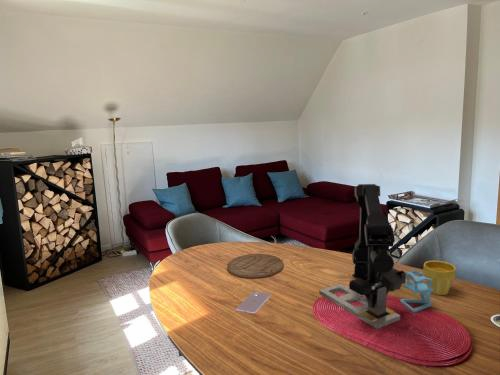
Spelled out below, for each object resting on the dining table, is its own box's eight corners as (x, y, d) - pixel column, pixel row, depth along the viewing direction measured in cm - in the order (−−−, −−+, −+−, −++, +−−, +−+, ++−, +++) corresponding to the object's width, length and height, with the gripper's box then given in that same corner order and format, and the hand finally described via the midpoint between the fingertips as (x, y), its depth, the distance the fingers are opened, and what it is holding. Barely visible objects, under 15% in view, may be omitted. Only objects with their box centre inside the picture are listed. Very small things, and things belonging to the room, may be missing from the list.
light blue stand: (436, 309, 125) (437, 275, 123) (412, 312, 124) (414, 278, 122) (421, 299, 133) (423, 266, 131) (399, 301, 132) (401, 269, 129)
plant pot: (453, 287, 140) (454, 262, 139) (455, 299, 131) (456, 273, 129) (422, 283, 145) (423, 258, 143) (422, 295, 135) (423, 269, 134)
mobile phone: (234, 308, 131) (253, 290, 145) (235, 311, 131) (253, 292, 145) (254, 312, 128) (271, 293, 141) (255, 315, 128) (271, 295, 141)
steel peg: (376, 309, 125) (376, 281, 123) (386, 315, 121) (386, 286, 120) (367, 313, 123) (367, 284, 121) (376, 318, 120) (377, 289, 118)
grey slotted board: (340, 287, 145) (340, 282, 144) (400, 319, 120) (400, 314, 120) (319, 294, 140) (319, 289, 140) (377, 329, 116) (377, 323, 115)
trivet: (293, 262, 172) (293, 258, 172) (265, 284, 151) (265, 279, 151) (246, 254, 185) (246, 250, 185) (215, 273, 165) (215, 269, 164)
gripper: (375, 275, 107) (374, 325, 110) (419, 261, 116) (417, 307, 119) (347, 263, 117) (348, 309, 120) (390, 250, 126) (389, 294, 129)
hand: (376, 305), depth 122 cm, fingers closed on steel peg, 4 cm apart
